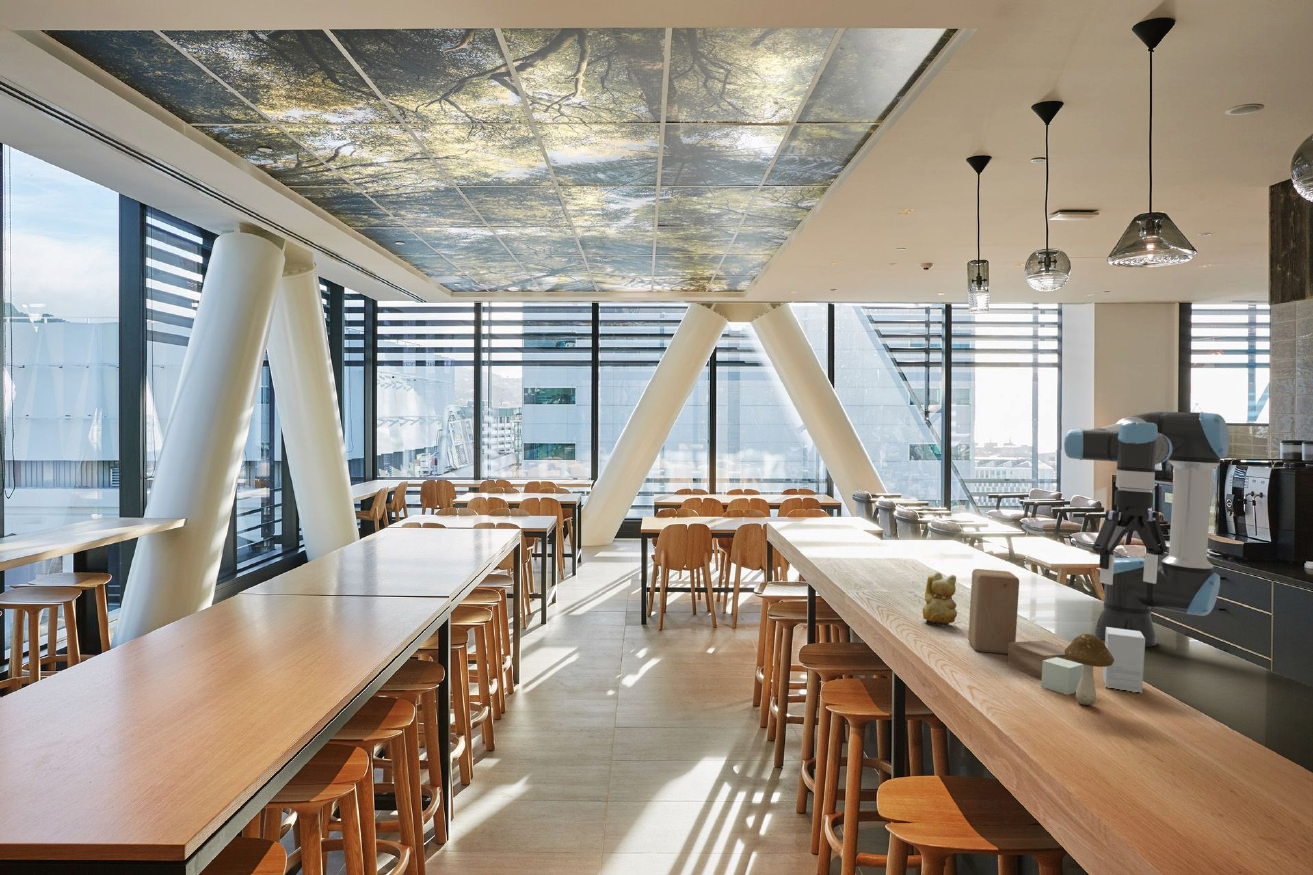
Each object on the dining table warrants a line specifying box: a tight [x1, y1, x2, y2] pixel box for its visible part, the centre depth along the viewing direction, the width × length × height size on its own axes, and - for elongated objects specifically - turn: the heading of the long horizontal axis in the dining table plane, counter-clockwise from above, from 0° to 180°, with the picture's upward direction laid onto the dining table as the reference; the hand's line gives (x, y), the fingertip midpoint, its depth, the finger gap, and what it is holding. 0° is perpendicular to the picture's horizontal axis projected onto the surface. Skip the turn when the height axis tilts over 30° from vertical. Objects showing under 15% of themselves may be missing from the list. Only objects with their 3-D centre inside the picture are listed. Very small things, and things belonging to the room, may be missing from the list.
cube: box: [1040, 657, 1084, 696], centre depth 181 cm, size 6×6×6 cm
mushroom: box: [1064, 633, 1114, 706], centre depth 170 cm, size 9×11×15 cm
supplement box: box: [1102, 627, 1146, 694], centre depth 184 cm, size 7×7×13 cm
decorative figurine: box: [922, 571, 958, 627], centre depth 235 cm, size 10×8×15 cm
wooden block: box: [967, 568, 1020, 655], centre depth 211 cm, size 10×10×20 cm
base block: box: [1007, 640, 1077, 681], centre depth 193 cm, size 11×11×6 cm
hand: (1128, 583), depth 184 cm, fingers open, 13 cm apart
